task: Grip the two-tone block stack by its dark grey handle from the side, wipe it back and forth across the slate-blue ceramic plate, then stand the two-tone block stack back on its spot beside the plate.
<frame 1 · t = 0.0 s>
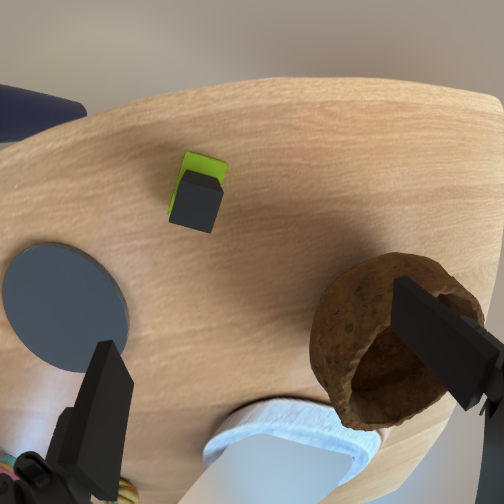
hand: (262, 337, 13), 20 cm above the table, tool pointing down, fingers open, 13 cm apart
plate: (62, 311, 33), on the table
bowl: (358, 300, 39), on the table
two-tone block stack: (197, 184, 31), on the table
cupcake: (12, 459, 43), on the table
decorative figurine: (122, 482, 48), on the table
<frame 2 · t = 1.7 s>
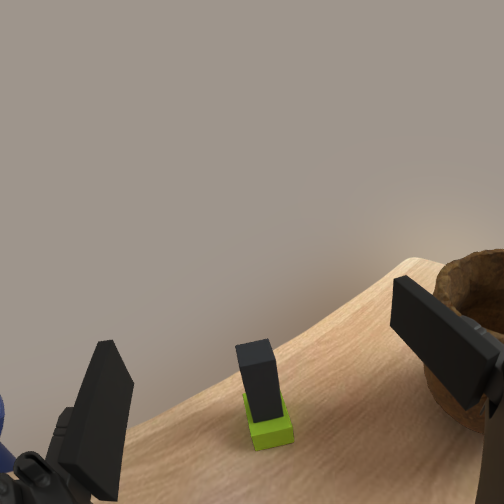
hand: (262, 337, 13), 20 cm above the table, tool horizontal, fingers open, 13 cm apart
bowl: (482, 401, 24), on the table
two-tone block stack: (269, 425, 29), on the table
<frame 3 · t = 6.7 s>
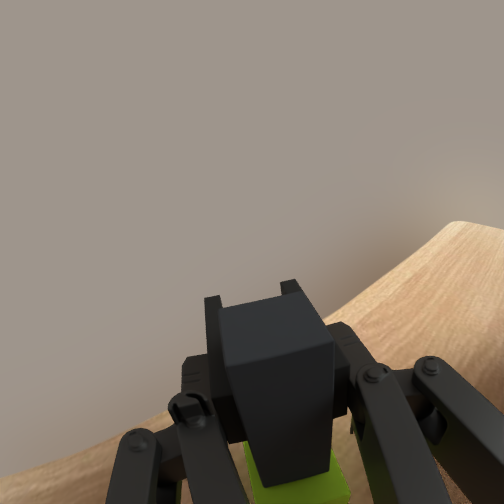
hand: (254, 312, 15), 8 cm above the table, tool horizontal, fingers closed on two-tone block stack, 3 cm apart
two-tone block stack: (292, 480, 13), on the table, touching gripper
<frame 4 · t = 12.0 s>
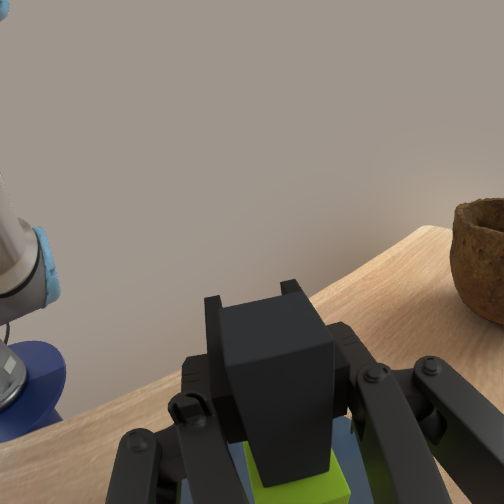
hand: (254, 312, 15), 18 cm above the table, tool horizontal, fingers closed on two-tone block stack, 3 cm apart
plate: (281, 487, 20), on the table
bowl: (497, 313, 34), on the table
two-tone block stack: (292, 480, 13), point 10 cm above the table, touching gripper
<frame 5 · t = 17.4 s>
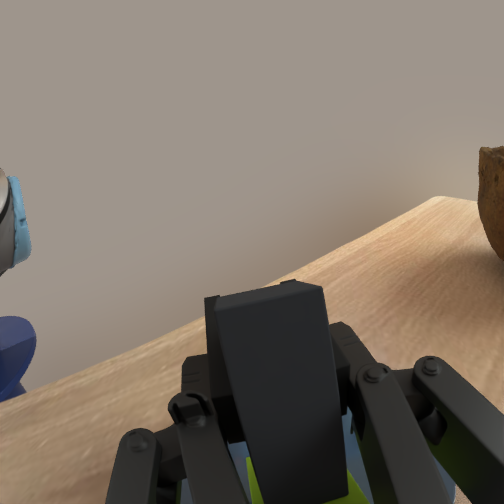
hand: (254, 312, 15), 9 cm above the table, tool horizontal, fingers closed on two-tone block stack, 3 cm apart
plate: (295, 491, 13), on the table
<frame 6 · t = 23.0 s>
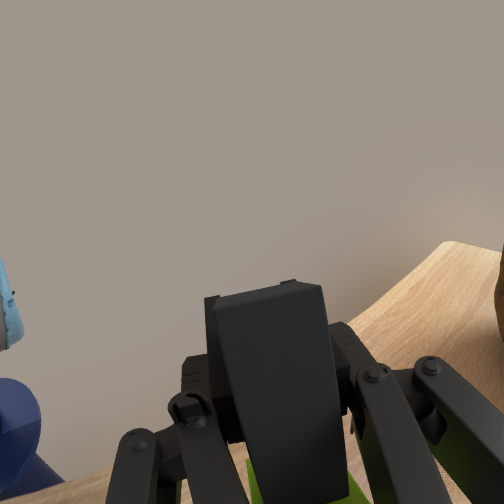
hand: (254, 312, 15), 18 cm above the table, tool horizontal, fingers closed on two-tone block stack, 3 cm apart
when the fingers open (8 cm above the table, at t = 28.1 s): two-tone block stack drops 1 cm, on the table.
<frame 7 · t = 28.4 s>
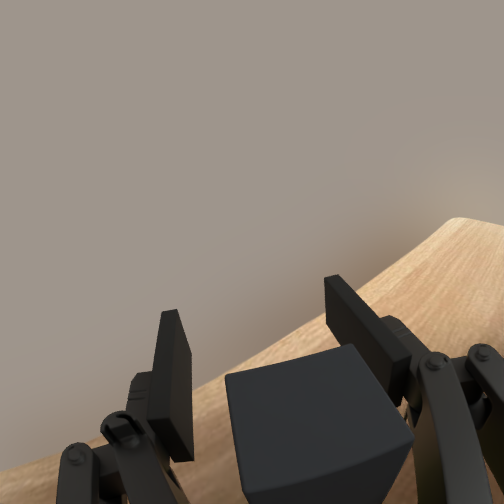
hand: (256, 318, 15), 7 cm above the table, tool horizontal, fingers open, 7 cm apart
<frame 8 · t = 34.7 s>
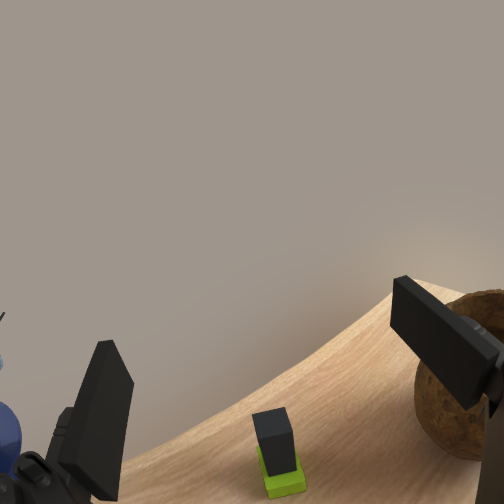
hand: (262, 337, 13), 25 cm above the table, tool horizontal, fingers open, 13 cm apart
bowl: (469, 426, 26), on the table
two-tone block stack: (282, 474, 28), on the table
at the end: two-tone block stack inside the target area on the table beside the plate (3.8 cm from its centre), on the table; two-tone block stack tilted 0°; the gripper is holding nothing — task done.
